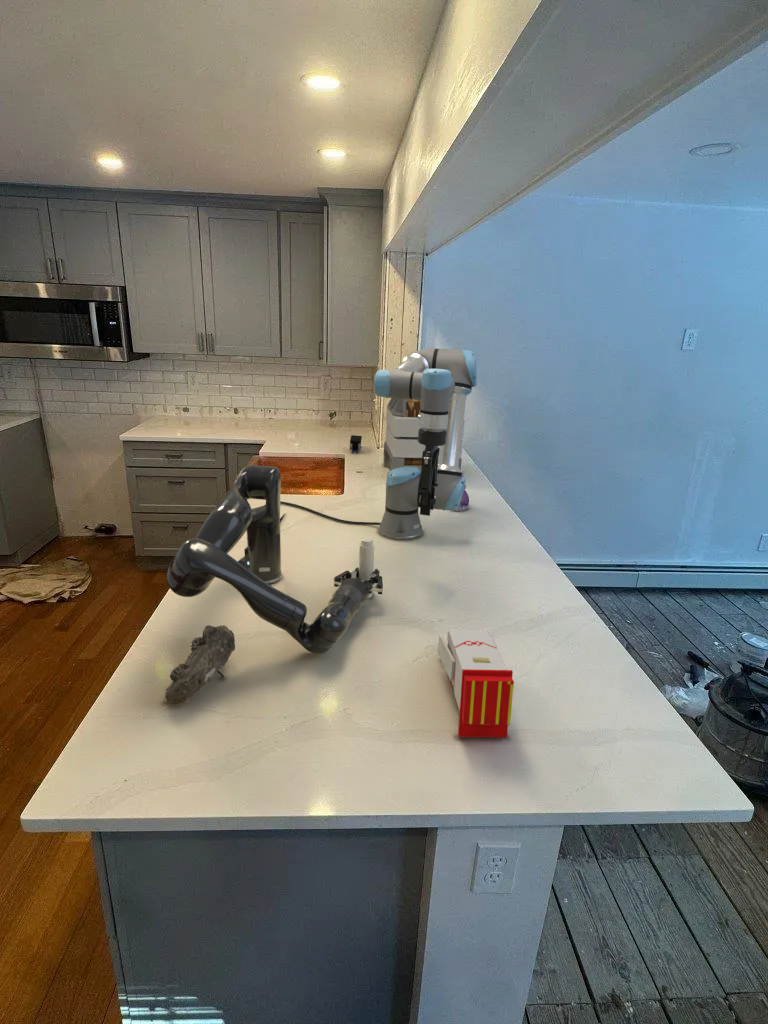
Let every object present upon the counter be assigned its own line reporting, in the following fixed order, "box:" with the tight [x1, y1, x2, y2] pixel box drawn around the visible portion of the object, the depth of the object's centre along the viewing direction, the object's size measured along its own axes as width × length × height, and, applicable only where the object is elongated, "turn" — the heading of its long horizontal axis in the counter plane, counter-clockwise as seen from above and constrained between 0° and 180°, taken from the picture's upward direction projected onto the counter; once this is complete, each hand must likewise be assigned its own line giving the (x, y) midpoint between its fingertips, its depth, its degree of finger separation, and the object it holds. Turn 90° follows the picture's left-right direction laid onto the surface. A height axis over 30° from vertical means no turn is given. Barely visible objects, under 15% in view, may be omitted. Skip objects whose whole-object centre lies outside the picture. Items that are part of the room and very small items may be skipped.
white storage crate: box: [383, 398, 465, 472], centre depth 268 cm, size 34×33×41 cm
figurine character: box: [349, 434, 363, 454], centre depth 310 cm, size 7×8×15 cm
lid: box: [419, 495, 436, 505], centre depth 157 cm, size 5×5×2 cm
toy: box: [437, 628, 515, 738], centre depth 117 cm, size 12×13×30 cm
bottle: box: [358, 537, 375, 599], centre depth 154 cm, size 4×4×17 cm
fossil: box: [165, 624, 236, 705], centre depth 118 cm, size 22×10×15 cm
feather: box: [280, 513, 286, 523], centre depth 210 cm, size 2×28×2 cm
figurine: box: [453, 470, 470, 512], centre depth 226 cm, size 9×10×15 cm
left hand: (368, 570), depth 157 cm, fingers closed on bottle, 4 cm apart
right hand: (426, 511), depth 158 cm, fingers closed on lid, 5 cm apart
